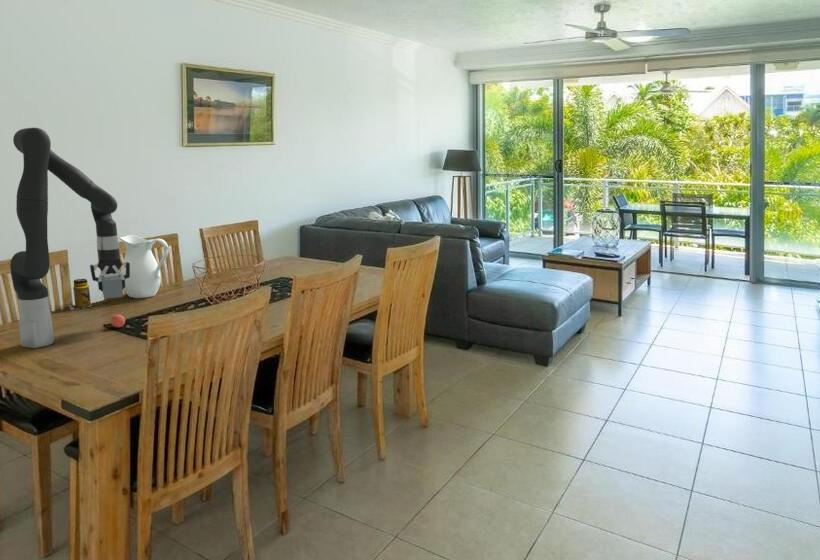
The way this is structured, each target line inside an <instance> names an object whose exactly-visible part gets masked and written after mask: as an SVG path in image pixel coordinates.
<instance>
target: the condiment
mask: <svg viewBox="0 0 820 560" xmlns="http://www.w3.org/2000/svg"><path fill="white" fill-rule="evenodd" d="M72 289H73V297H74V304H71V305H68V307H69V309H70V310H72V311H73V310H80V308H82V309H86V308H85V307H89V306H93V305H92V303H91V296H90V295H91V294H90V285H88V279H86V278H78V279H77V278H76V279H74V280H73V288H72ZM72 307H73V308H72ZM75 308H76V309H75Z"/></svg>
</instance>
